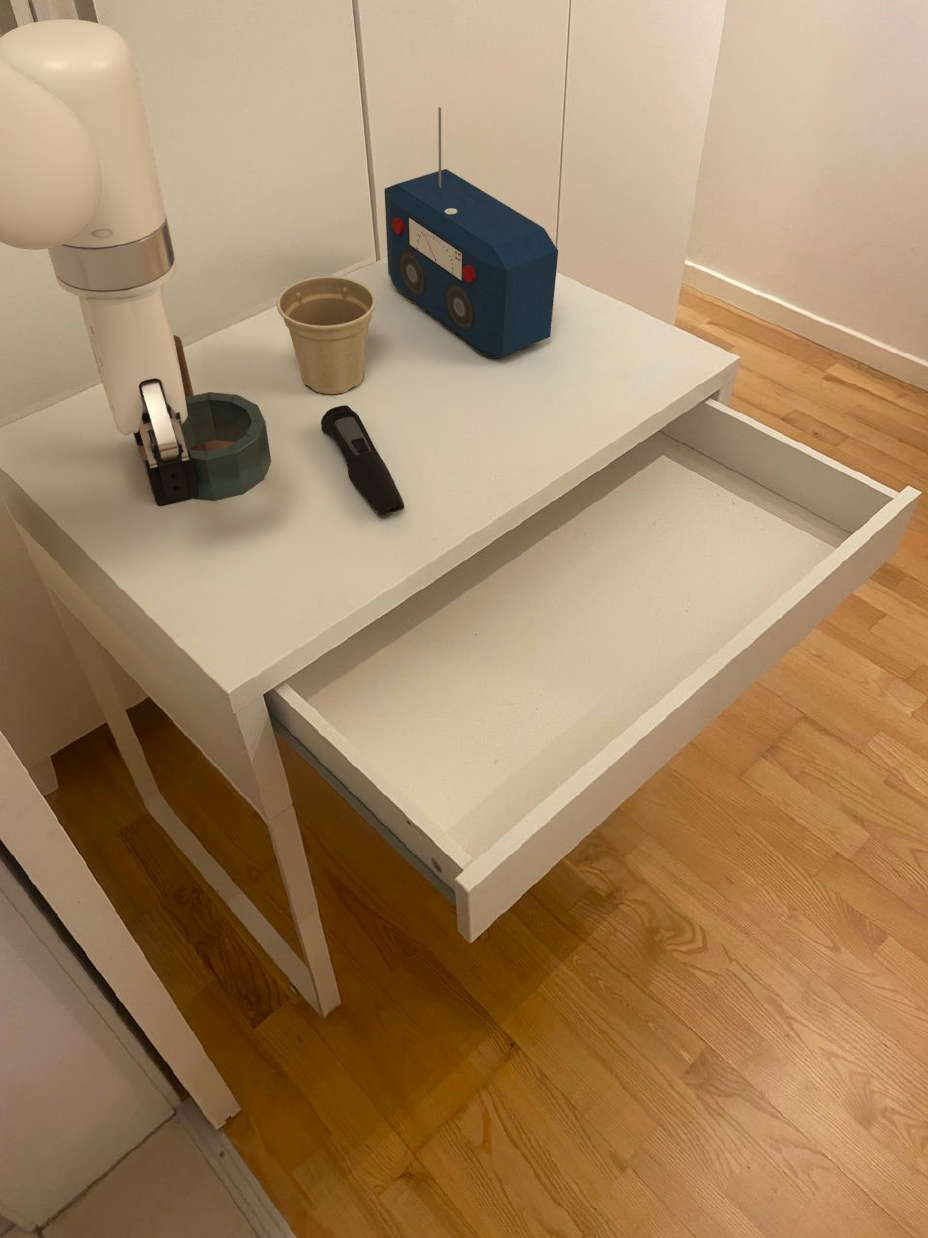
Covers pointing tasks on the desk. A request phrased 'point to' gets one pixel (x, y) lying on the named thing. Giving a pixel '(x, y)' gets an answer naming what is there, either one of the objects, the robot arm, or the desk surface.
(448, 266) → the radio
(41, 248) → the robot arm
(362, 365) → the flower pot
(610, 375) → the desk surface
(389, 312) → the desk surface
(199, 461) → the ring
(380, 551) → the desk surface
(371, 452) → the electric trimmer
